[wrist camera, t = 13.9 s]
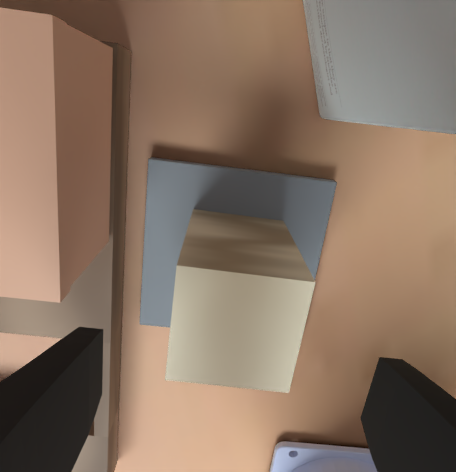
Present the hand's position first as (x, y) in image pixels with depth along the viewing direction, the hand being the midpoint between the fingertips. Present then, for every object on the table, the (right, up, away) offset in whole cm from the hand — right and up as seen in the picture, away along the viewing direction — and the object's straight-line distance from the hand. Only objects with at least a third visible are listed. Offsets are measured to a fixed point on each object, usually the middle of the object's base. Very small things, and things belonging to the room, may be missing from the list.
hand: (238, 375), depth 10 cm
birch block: (0, +3, +7) cm, 8 cm away
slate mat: (0, +3, +8) cm, 8 cm away
